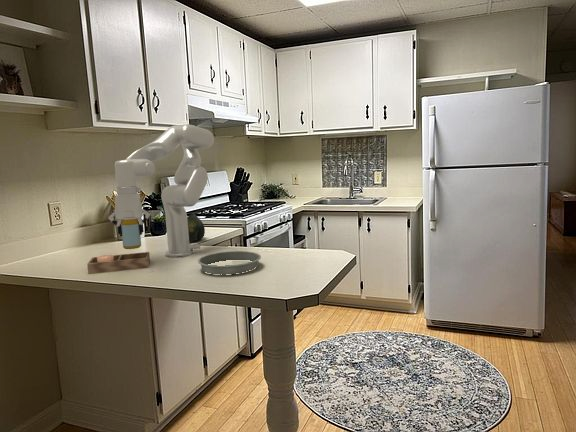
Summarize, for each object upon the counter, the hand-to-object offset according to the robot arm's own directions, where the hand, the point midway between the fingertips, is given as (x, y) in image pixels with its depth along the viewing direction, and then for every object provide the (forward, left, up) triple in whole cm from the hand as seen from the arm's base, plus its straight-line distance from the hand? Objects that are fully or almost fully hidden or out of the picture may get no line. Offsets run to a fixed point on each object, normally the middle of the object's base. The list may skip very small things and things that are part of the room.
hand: (131, 234), depth 179 cm
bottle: (0, 0, -6) cm, 6 cm away
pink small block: (+11, 0, -13) cm, 17 cm away
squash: (-25, -48, -14) cm, 56 cm away
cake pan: (-37, +16, -14) cm, 43 cm away
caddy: (+5, 0, -14) cm, 15 cm away
